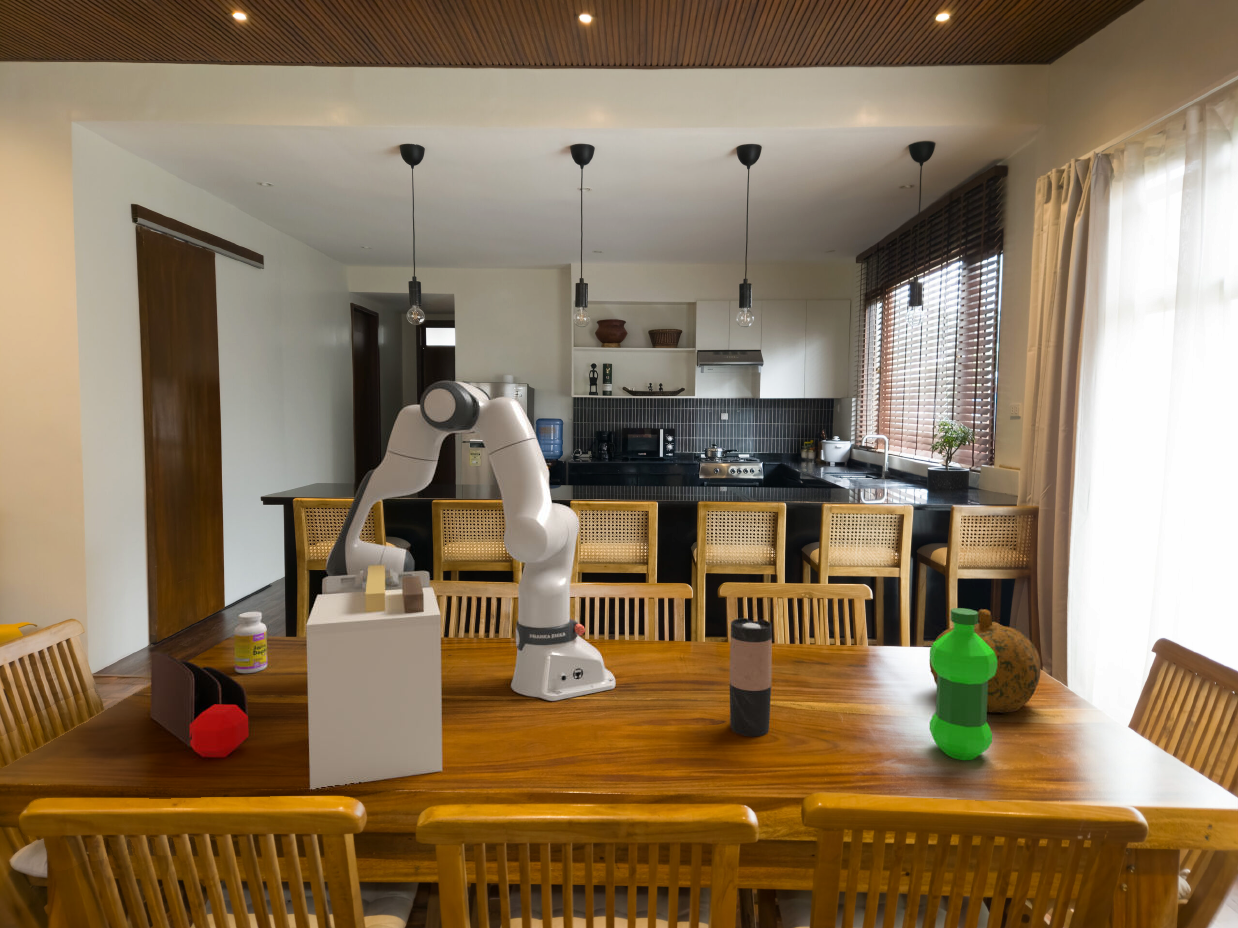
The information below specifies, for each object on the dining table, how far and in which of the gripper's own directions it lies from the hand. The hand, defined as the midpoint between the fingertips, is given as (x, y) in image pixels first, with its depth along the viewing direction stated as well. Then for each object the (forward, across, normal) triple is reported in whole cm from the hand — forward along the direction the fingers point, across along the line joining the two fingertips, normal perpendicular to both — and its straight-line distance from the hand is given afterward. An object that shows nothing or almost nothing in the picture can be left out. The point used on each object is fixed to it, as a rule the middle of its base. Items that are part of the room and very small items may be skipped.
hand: (376, 573), depth 138 cm
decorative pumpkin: (+11, +118, +39) cm, 125 cm away
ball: (-8, -26, +28) cm, 39 cm away
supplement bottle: (-46, -28, +6) cm, 54 cm away
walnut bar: (+13, +6, +10) cm, 17 cm away
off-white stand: (0, 0, +32) cm, 32 cm away
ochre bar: (+7, 0, +6) cm, 9 cm away
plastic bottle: (+26, +96, +48) cm, 110 cm away
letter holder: (-20, -32, +21) cm, 43 cm away
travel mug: (+9, +66, +38) cm, 76 cm away
